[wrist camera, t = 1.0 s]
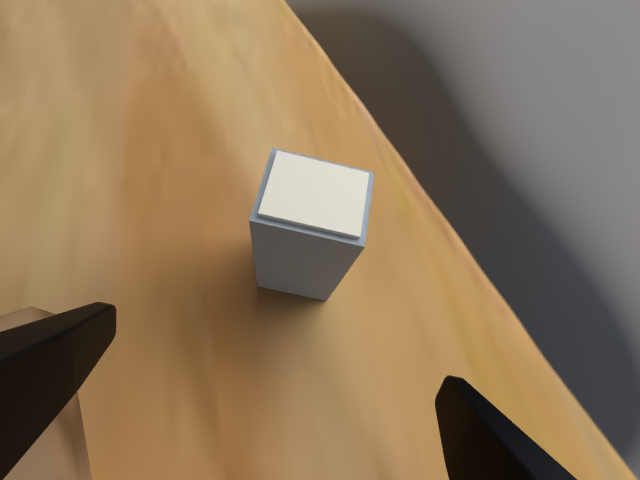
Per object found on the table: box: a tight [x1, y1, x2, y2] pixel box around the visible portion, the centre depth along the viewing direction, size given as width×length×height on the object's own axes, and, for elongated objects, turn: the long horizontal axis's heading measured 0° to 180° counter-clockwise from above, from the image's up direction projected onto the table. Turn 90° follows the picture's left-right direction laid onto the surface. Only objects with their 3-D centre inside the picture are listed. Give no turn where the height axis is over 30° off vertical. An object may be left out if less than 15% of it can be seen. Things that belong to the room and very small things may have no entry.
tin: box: [249, 148, 374, 301], centre depth 18 cm, size 4×5×10 cm
